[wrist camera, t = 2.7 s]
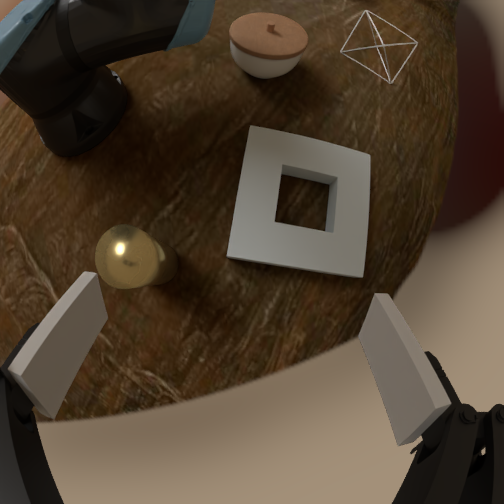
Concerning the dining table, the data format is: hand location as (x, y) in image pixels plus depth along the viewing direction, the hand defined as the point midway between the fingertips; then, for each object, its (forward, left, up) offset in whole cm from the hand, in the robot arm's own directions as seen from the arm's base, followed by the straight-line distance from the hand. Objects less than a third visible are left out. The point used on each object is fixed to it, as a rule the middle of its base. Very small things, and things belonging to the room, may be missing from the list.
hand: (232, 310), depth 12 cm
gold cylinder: (-9, +2, -20) cm, 22 cm away
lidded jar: (-1, +34, -20) cm, 39 cm away
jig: (+7, +12, -20) cm, 24 cm away
